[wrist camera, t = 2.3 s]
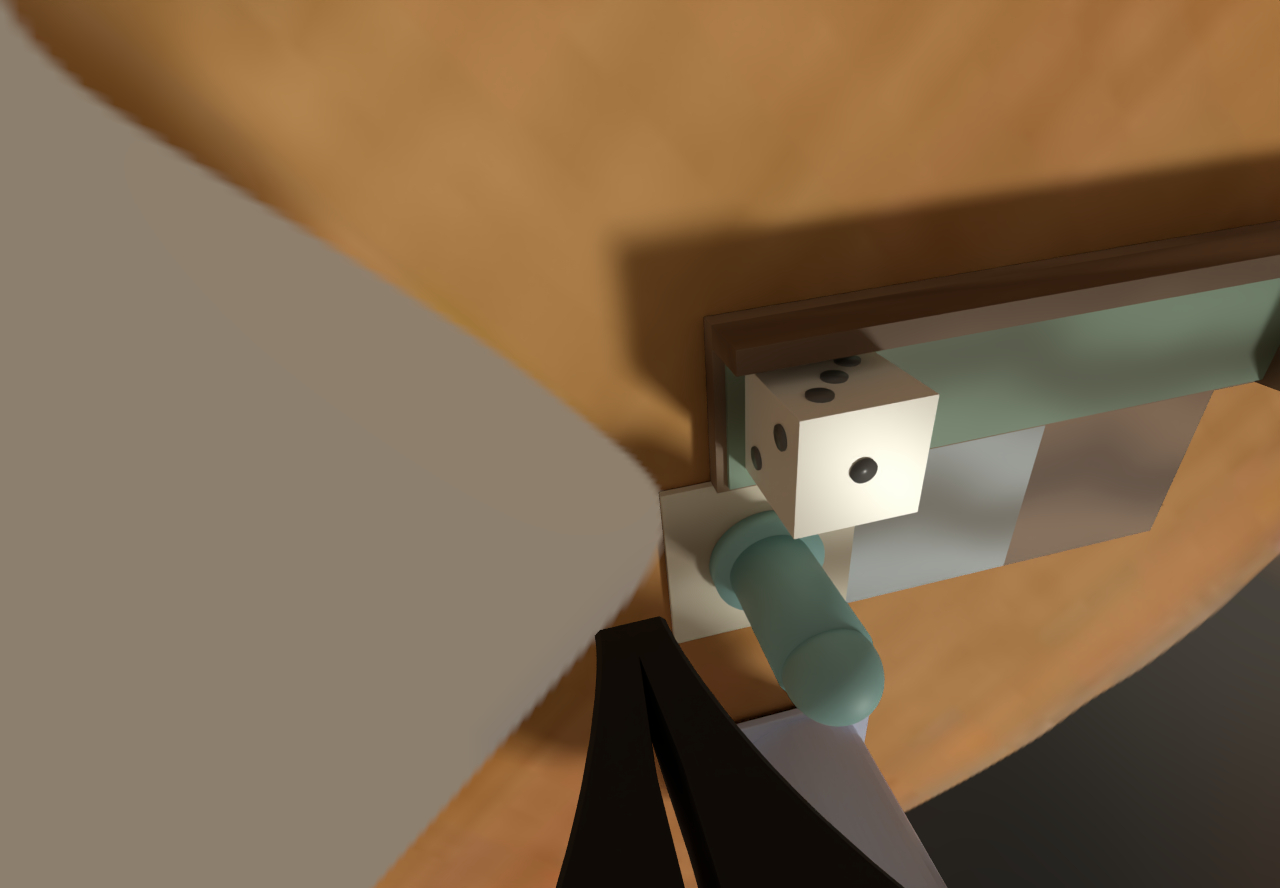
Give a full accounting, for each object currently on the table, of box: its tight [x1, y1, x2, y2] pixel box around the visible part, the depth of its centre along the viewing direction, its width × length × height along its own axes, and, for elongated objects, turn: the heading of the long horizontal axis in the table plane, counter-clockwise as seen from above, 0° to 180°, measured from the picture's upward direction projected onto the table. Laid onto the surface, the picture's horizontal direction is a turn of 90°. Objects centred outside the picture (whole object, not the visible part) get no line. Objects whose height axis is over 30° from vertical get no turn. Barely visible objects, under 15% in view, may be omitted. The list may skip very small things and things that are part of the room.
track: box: [659, 390, 1214, 643], centre depth 25 cm, size 8×24×1 cm, turn 96°
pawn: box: [709, 510, 884, 727], centre depth 21 cm, size 5×5×7 cm
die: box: [745, 352, 939, 539], centre depth 18 cm, size 4×4×4 cm
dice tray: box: [704, 221, 1280, 494], centre depth 21 cm, size 6×24×3 cm, turn 96°
